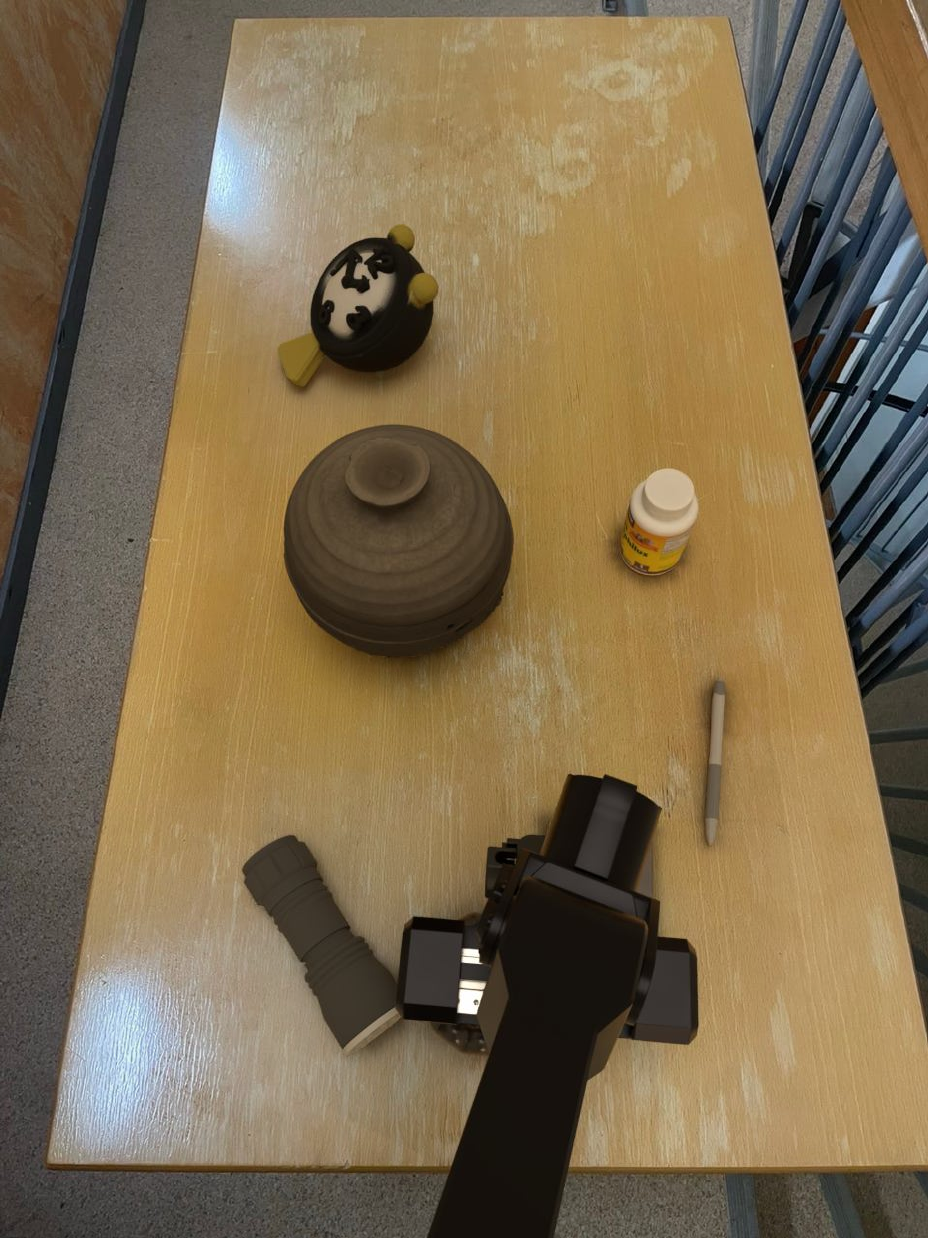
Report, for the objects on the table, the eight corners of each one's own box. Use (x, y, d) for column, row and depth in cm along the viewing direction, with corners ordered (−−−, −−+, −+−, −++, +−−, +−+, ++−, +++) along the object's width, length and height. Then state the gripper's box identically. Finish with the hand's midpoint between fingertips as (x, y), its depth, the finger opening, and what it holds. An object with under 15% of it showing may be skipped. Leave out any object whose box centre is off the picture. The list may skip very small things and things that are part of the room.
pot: (294, 512, 84) (266, 370, 66) (489, 504, 85) (513, 363, 67) (297, 699, 77) (266, 597, 58) (509, 686, 78) (543, 582, 60)
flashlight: (244, 878, 71) (225, 865, 66) (303, 836, 72) (289, 820, 67) (352, 1056, 65) (341, 1057, 60) (414, 1007, 67) (408, 1004, 62)
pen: (723, 682, 77) (728, 675, 75) (714, 849, 71) (718, 845, 70) (711, 680, 77) (715, 674, 75) (701, 847, 71) (704, 843, 70)
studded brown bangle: (548, 1061, 65) (550, 1061, 63) (413, 1049, 66) (411, 1049, 64) (554, 920, 69) (555, 917, 67) (427, 909, 70) (425, 906, 68)
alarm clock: (320, 336, 98) (333, 191, 88) (443, 383, 96) (471, 239, 86) (261, 377, 90) (267, 222, 80) (394, 430, 87) (418, 276, 77)
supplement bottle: (607, 537, 83) (622, 473, 73) (662, 515, 84) (683, 449, 74) (635, 587, 80) (654, 528, 71) (692, 565, 81) (718, 503, 72)
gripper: (715, 840, 55) (669, 882, 69) (405, 816, 56) (422, 863, 70) (722, 1046, 50) (670, 1045, 64) (383, 1015, 51) (406, 1022, 65)
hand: (539, 987), depth 66 cm, fingers open, 5 cm apart
